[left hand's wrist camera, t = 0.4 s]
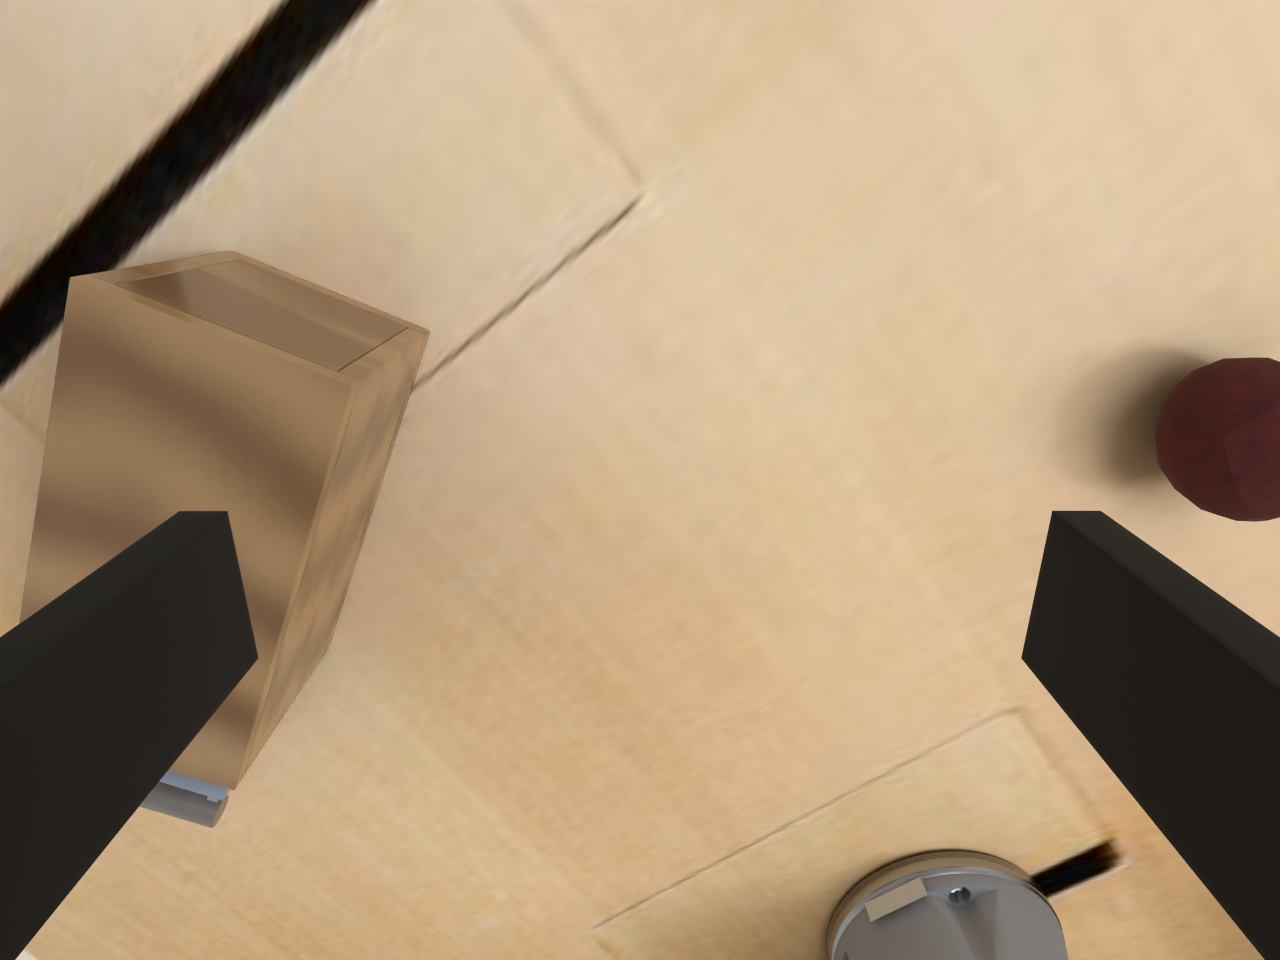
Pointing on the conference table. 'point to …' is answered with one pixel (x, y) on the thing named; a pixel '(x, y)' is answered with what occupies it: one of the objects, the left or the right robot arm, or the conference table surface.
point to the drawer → (188, 799)
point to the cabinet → (224, 453)
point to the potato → (1225, 438)
